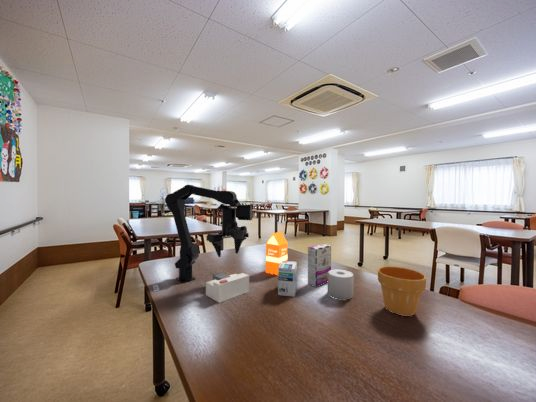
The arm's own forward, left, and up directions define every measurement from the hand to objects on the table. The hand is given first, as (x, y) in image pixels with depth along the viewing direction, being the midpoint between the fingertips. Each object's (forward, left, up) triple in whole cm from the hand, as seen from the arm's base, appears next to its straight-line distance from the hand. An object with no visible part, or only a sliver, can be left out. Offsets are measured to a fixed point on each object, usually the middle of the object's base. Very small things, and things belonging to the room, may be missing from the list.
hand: (228, 255), depth 103 cm
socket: (+10, -7, -12) cm, 17 cm away
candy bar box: (+28, +29, -12) cm, 42 cm away
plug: (+6, -7, -12) cm, 15 cm away
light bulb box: (+24, +12, -12) cm, 29 cm away
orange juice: (+5, +26, -12) cm, 29 cm away
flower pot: (+61, +27, -12) cm, 68 cm away
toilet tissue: (+40, +25, -12) cm, 49 cm away
